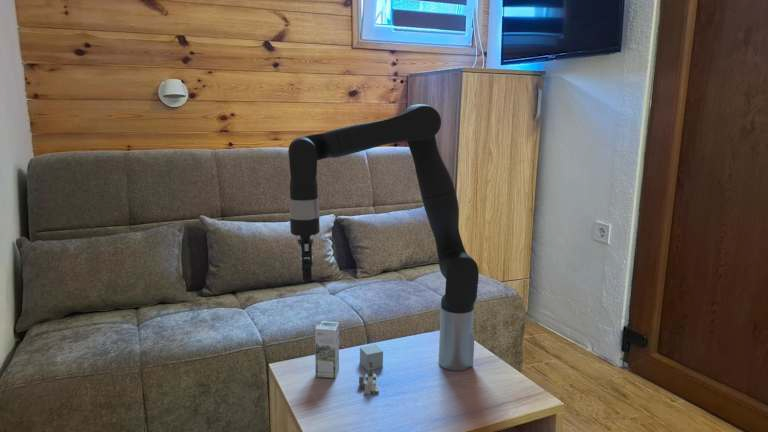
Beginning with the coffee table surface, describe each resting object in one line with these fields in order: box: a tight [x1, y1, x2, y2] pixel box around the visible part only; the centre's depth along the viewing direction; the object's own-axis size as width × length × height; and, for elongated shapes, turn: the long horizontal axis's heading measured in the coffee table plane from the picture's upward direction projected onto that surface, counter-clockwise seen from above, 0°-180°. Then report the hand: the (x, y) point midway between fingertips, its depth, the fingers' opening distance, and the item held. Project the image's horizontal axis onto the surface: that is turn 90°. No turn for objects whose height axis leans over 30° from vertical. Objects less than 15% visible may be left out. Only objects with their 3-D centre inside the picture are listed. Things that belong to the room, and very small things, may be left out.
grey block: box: [359, 344, 384, 371], centre depth 153 cm, size 5×5×5 cm
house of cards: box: [358, 362, 380, 395], centre depth 142 cm, size 9×9×8 cm
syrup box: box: [314, 320, 340, 380], centre depth 147 cm, size 6×6×14 cm
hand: (306, 275), depth 142 cm, fingers open, 8 cm apart
